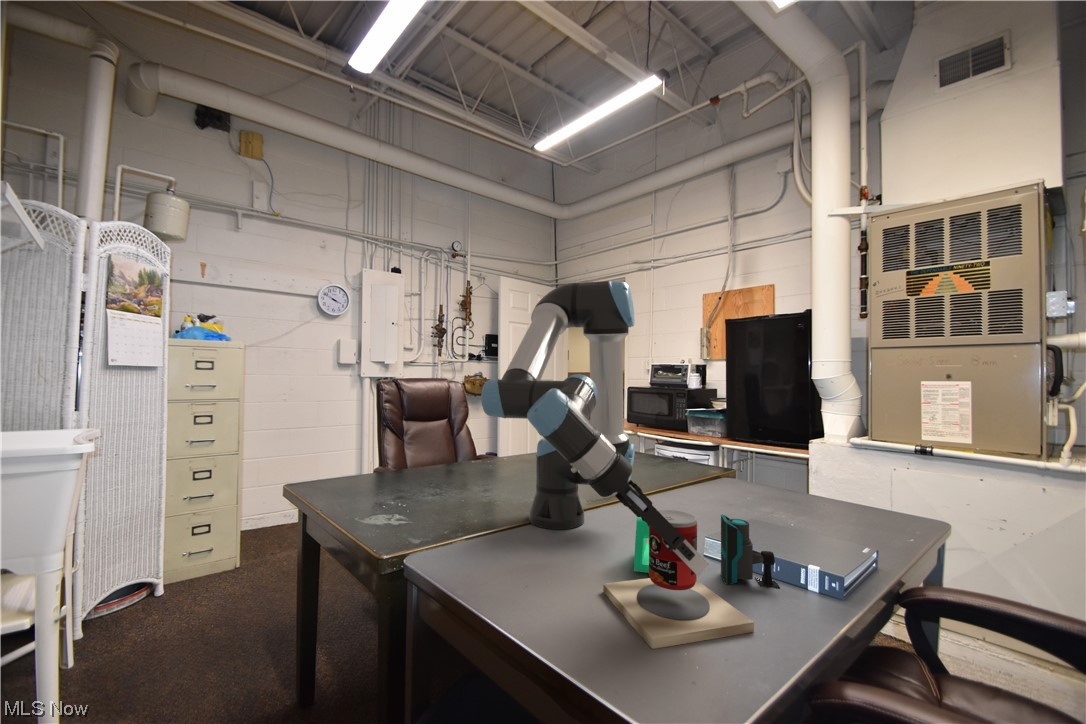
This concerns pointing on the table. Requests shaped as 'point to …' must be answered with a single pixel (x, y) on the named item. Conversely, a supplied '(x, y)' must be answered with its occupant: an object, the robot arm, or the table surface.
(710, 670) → the table surface
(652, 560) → the canned food
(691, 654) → the table surface
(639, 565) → the camera mount
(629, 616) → the wooden square board
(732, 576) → the surveillance camera
